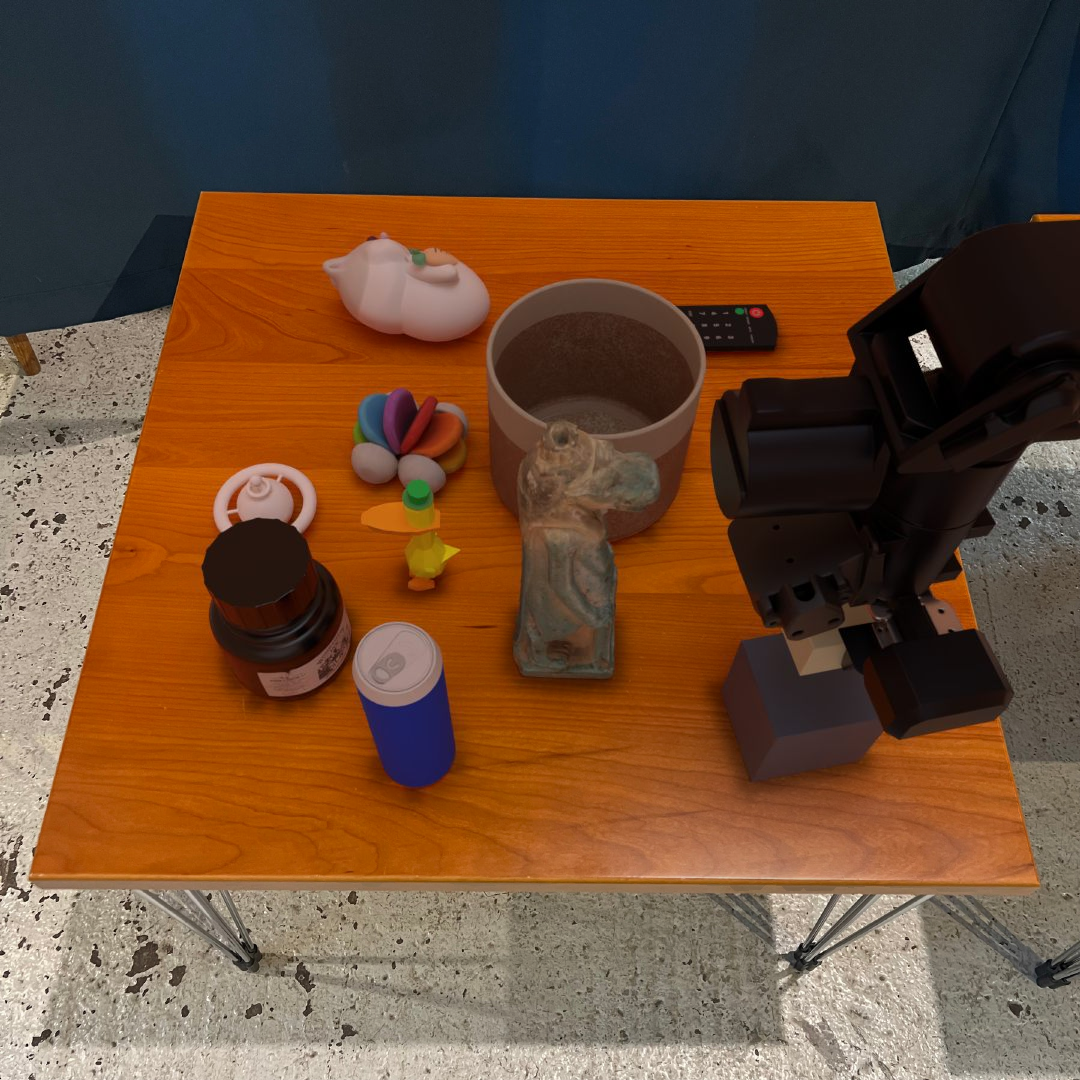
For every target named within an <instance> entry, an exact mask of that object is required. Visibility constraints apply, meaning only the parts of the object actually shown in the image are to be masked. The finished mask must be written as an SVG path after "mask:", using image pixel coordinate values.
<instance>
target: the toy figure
mask: <svg viewBox="0 0 1080 1080" xmlns="http://www.w3.org/2000/svg"><path fill="white" fill-rule="evenodd" d="M441 522H442V513H441V511H440V510H438V509H437V508H435V503H434V493H432V492H431V490H430V487H429V485H428V483H427V482H425V481H423V480H420V479H417V480H414V481H410V483H409V484H408V486H407V488H405V489H404V490H403V492H402V495H401V501H396V502H385V503H383V504H379V505H375V506H372V507H371V508H369V509H366V510H365V511H363V512H362V513H361V517H360V524H362V525H364V526H366V527H368V528H369V529H370V530H372V531H373V532H376V533H380V534H385V535H391V536H392V535H393V536H405V537H406V536H407V537H408V536H409V537H411V539H410V540H409V542H408V543H407V546H406V547H405V549H404V556H405V561H406V564H407V566H408V569H409V571H408V576H409V577H410V578H412V579H411V580H408V581H407V587H408V590H413V591H416V592H419V591H420V592H421V591H426V590H430V589H434V588H435V587H436V583H435V580H433V579H436V578H437V577H438V576H440V575H441V574H442V573H443V571H444V569H445V567H446V565H447V564H448V561H450V560H451V559H452V558H453V557H454V556H456V554H458V553H459V552H460V551H461V549H459V548H457V547H454V546H452V545H448V544H445V543H444V541H442V538H441V537H438V532H436V530H439V529H441Z"/></svg>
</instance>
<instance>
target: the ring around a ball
mask: <svg viewBox="0 0 1080 1080" xmlns="http://www.w3.org/2000/svg"><path fill="white" fill-rule="evenodd" d="M269 477H277V478H276V479H274V478H269ZM282 479H286V480H288V481H290V482H292V483H293V484H295V486H296V487H297V488H298V489H299V491H300V493H301V495H302V502H303V503H302V508H301V512H300V513H299V515H298V516H297V518H296V519H295V520H294V521H293V522H292V523H291V525H293V526H295V527H296V528H297V530H298V531H299V532H300V533H301V535H303V533H304V532H305V531H306V530H307V529H308V527H309V526H310V525H311V523H312V521H313V520H314V518H315V514H316V511H317V504H318V501H317V500H318V499H317V498H318V497H317V493H316V489H315V487H314V485H313V483H312V481H311V480H310V479H309V478H308V477H307V475H305V474H304V473H303V472H302V471H300V470H298V469H297V468H294V466H293V467H292V466H290V465H287V464H284V463H278V462H265V463H264V462H263V463H258V464H254V465H250V466H247V467H245V468H243V469H241V470H240V471H239V470H238V471H237V472H236V473H234V474H233V475H232V476H230V477H229V478H228V479H227V480H226V481H225V482H224V483H223V484H222V485H221V487H220V489H219V491H218V492H217V494H216V496H215V499H214V502H213V510H212V513H213V519H214V522H215V526H216V528H217V529H218V531H219V533H221V532H223V531H225V530H227V529H228V528H230V527H231V526H233V525H234V524H233V523H232V522H231V520H230V518H229V515H231V514H238V517H239V519H240V520H241V522H243V521H247V520H251V519H254V518H258V517H260V518H269V519H280V520H281V521H283V522H285V523H287V524H289V521H290V520H291V519H292V516H293V513H294V509H295V508H294V507H295V505H294V499H293V496H292V493H291V491H290V490H289V489H288V487H287V486H286V485H285V484H284V483H282V482H281V481H282ZM241 487H242V488H241ZM240 488H241V490H240V492H239V493H238V496H237V499H236V508H235V509H230V510H229V509H228V508H229V503H230V501H231V499H232V497H233V496H234V494H235V493H236V491H238V490H239V489H240Z"/></svg>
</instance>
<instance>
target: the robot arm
mask: <svg viewBox="0 0 1080 1080" xmlns="http://www.w3.org/2000/svg"><path fill="white" fill-rule="evenodd" d="M924 331H925V332H926V333H927V336H928V338H929V340H930V343H931V345H932V348H933V350H934V352H935V354H936V357H937V360H938V361H939V363H940V367H934V369H929V370H928V369H927V370H926V371H923V369H922V367H921V365H920V363H919V359H918V356H917V354H916V352H915V350H914V347H913V345H912V343H911V340H910V338H912V337H913V336H916V335H917V334H920V333H922V332H924ZM846 337H847V340H848V343H849V346H850V348H851V351H852V354H853V356H854V361H853V363H852V366H851V369H850V371H849V373H848V375H842V376H826V377H825V376H824V377H807V378H786V377H785V378H784V377H776V376H775V377H774V376H771V377H770V376H767V377H752V378H751V377H750V378H749V377H748V378H747V379H744V380H743V381H742V383H741V386H740V388H735V389H734V388H733V389H727V390H725V391H724V392H723V393H722V394H721V395H722V396H721V397H720V398H716V399H715V401H714V405H713V407H712V414H711V419H710V431H709V457H710V459H709V460H710V469H711V470H710V471H711V478H712V484H713V490H714V495H715V498H716V501H717V504H718V508H719V509H720V512H721V513H722V515H723V516H724V517H725V518H726V519H727V520H731V521H730V522H729V524H728V527H727V530H726V533H727V538H728V541H729V545H730V548H731V549H732V553H733V556H734V559H735V562H736V564H737V565H736V566H737V568H738V570H739V573H740V575H741V578H742V581H743V584H744V586H745V588H746V591H747V594H748V596H749V599H750V602H751V604H752V607H753V610H754V611H755V613H756V614H757V615H758V616H759V617H760V619H761V622H762V624H763V627H764V628H765V629H775V628H780V629H781V628H783V630H784V632H785V635H786V637H787V639H788V640H791V641H799V640H803V639H806V638H809V637H812V636H815V635H818V634H821V633H824V632H827V631H830V630H833V629H835V628H837V627H839V626H840V625H841V624H843V622H844V621H845V615H844V611H843V608H842V606H843V605H844V604H846V603H848V604H849V606H850V608H851V607H856V606H862V605H867V607H868V609H869V612H870V614H871V616H872V618H873V620H874V621H875V622H870V623H865V624H859V625H854V626H848V627H843V628H838V631H839V633H840V636H841V638H842V640H843V643H844V645H845V647H846V651H845V653H844V655H843V659H842V662H841V667H842V669H843V671H847V670H852V669H855V670H856V671H857V672H858V673H859V674H861V675H863V676H864V686H865V688H866V691H867V693H868V695H869V698H870V700H871V702H872V705H873V707H874V709H875V712H876V714H877V716H878V719H879V721H880V723H881V726H882V728H883V730H884V732H883V733H886V734H887V735H889V736H891V737H892V738H895V739H896V740H898V741H902V740H907V739H912V738H917V737H923V736H926V735H931V734H937V733H941V732H947V731H951V730H956V729H961V728H966V727H970V726H971V727H972V726H976V725H980V724H985V723H986V724H987V723H991V722H995V721H996V720H997V719H998V718H999V717H1000V716H1001V715H1002V714H1003V713H1004V712H1005V711H1006V710H1008V708H1009V707H1010V704H1011V703H1012V700H1013V698H1014V696H1015V694H1016V693H1015V691H1014V688H1013V687H1012V685H1011V683H1010V681H1009V679H1008V677H1007V675H1006V673H1005V671H1004V669H1003V668H1002V666H1001V664H1000V662H999V660H998V658H997V656H996V654H995V652H994V650H993V648H992V646H991V644H990V642H989V640H988V639H987V637H986V635H985V633H984V632H982V631H980V630H979V629H977V628H975V627H971V628H967V629H964V626H963V625H962V622H961V621H960V618H959V616H958V614H957V613H956V611H955V608H953V606H952V604H951V603H949V602H948V601H946V600H944V599H938V598H936V597H935V595H934V594H933V591H932V590H931V588H930V587H931V585H934V584H935V585H936V584H939V583H944V582H945V583H946V582H952V581H955V580H957V579H958V578H959V576H960V574H961V573H962V572H963V571H964V568H963V567H962V565H961V563H960V561H959V559H958V557H957V555H956V553H955V552H956V551H957V550H958V548H959V547H960V545H961V544H962V542H963V541H966V540H970V539H977V538H982V537H987V536H988V535H989V534H990V533H991V532H992V530H993V529H994V528H995V526H996V525H997V522H996V521H995V519H994V517H993V515H992V514H991V511H990V510H989V508H988V507H987V506H988V505H989V503H990V502H991V500H992V499H993V497H994V496H995V495H996V493H997V491H998V490H999V489H1000V487H1001V486H1002V484H1003V483H1004V482H1005V480H1006V479H1007V477H1008V476H1009V474H1010V473H1011V472H1012V470H1013V469H1014V467H1015V465H1017V463H1018V461H1019V460H1020V459H1021V457H1022V456H1023V455H1024V453H1025V451H1026V450H1027V448H1028V447H1029V446H1031V445H1033V444H1035V443H1036V444H1037V443H1049V442H1051V443H1052V442H1065V441H1066V442H1067V441H1078V440H1080V219H1063V220H1062V219H1061V220H1042V221H1040V220H1039V221H1023V222H1011V223H1004V224H1000V225H997V226H993V227H990V228H987V229H983V230H980V231H977V232H976V233H974V234H972V235H969V236H967V237H965V238H964V239H962V241H960V243H959V245H957V246H955V247H954V248H953V249H952V250H950V251H949V252H948V253H946V254H945V255H944V256H942V257H941V258H940V259H939V260H937V261H936V262H934V263H933V264H932V265H931V266H929V267H928V268H927V269H925V270H924V271H923V272H921V273H920V274H919V275H917V276H916V277H915V278H913V279H912V280H911V281H910V282H908V283H907V284H906V285H904V286H903V287H902V288H900V289H898V291H896V292H895V293H894V294H892V295H891V296H890V297H889V298H887V299H886V300H885V301H883V302H882V303H881V304H879V305H878V306H876V307H875V308H874V309H873V310H871V311H870V312H868V313H867V314H866V315H865V316H863V317H862V318H860V319H859V320H858V321H856V322H855V323H853V324H852V325H851V326H850V327H849V328H848V329H847V330H846Z"/></svg>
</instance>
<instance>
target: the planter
mask: <svg viewBox="0 0 1080 1080" xmlns="http://www.w3.org/2000/svg"><path fill="white" fill-rule="evenodd" d="M676 306H677V305H675V304H673V303H672V302H671V301H670V300H668V299H666V298H665V297H663V296H661V295H660V294H657V293H656V292H654V291H651V290H649V289H647V288H644V287H642V286H639V285H636V284H633V283H630V282H626V281H621V280H616V279H609V278H608V279H607V278H597V277H596V278H594V277H593V278H591V277H589V278H575V279H566V280H562V281H557V282H554V283H553V282H552V283H549V284H546V285H543V286H541V287H538V288H536V289H534V290H532V291H530V292H528V293H526V294H525V295H523V296H521V297H520V298H518V299H517V300H516V301H514V302H513V303H511V304H510V305H509V306H508V307H507V308H506V309H505V310H504V311H503V312H502V313H501V315H500V316H499V317H498V319H497V320H496V321H495V322H494V325H493V326H492V329H491V330H490V333H489V336H488V338H487V343H486V349H485V366H486V390H487V416H488V439H489V442H488V443H489V444H488V445H489V467H490V468H489V469H490V475H491V480H492V485H493V487H494V489H495V491H496V493H497V495H498V497H499V499H500V500H501V502H502V503H503V505H504V506H505V507H506V508H507V510H509V512H510V513H511V514H513V516H514V517H516V518H517V520H519V508H518V499H517V478H518V473H519V466H520V464H521V461H522V459H525V457H526V455H527V453H528V451H529V450H530V448H531V447H532V446H533V445H534V444H535V443H536V442H537V441H539V440H540V439H541V436H542V434H543V433H544V431H545V430H546V429H547V422H556V421H563V420H565V421H567V422H570V423H572V424H575V425H577V429H579V430H581V431H584V432H586V433H587V434H588V435H589V436H591V437H592V438H593V439H598V440H609V441H610V442H612V443H613V446H614V449H615V450H616V451H619V452H621V453H623V454H625V453H633V452H640V453H645V454H648V455H650V456H652V459H653V460H654V462H655V463H656V464H657V467H658V470H659V475H660V486H661V491H660V496H659V498H658V499H657V500H656V501H655V502H654V503H651V504H648V506H647V508H646V510H644V511H641V512H639V513H635V512H626V511H621V510H617V509H609V510H608V512H607V513H605V514H604V516H605V519H606V522H607V526H608V530H609V536H608V538H607V540H606V541H608V542H609V543H611V542H616V541H620V540H623V539H627V538H629V537H632V536H634V535H636V534H638V533H640V532H642V531H644V530H645V529H647V528H649V527H650V526H652V525H653V524H654V523H656V522H657V521H658V520H659V519H661V517H662V516H663V515H664V514H665V513H666V512H667V511H668V509H669V508H670V507H671V505H672V504H673V502H674V501H675V499H676V496H677V494H678V492H679V489H680V486H681V481H682V477H683V474H684V469H685V464H686V459H687V455H688V451H689V448H690V443H691V438H692V434H693V430H694V425H695V421H696V417H697V412H698V408H699V404H700V399H701V395H702V390H703V388H704V387H703V386H704V383H705V377H706V373H707V356H706V352H705V349H704V345H703V342H702V340H701V337H700V335H699V333H698V331H697V330H696V328H695V326H694V325H693V324H692V322H691V321H690V320H689V319H688V317H687V316H686V315H685V314H684V313H683V312H682V311H681V310H680V309H678V308H677V307H676Z"/></svg>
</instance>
